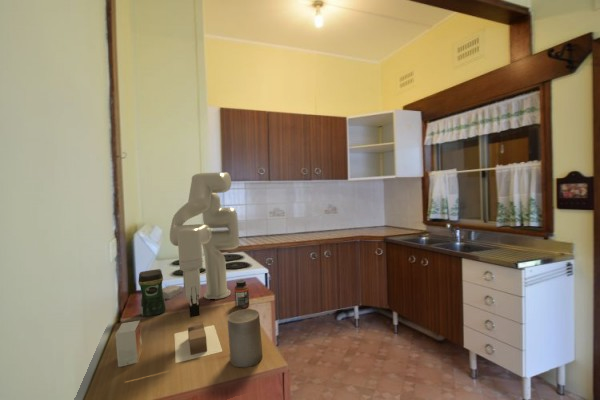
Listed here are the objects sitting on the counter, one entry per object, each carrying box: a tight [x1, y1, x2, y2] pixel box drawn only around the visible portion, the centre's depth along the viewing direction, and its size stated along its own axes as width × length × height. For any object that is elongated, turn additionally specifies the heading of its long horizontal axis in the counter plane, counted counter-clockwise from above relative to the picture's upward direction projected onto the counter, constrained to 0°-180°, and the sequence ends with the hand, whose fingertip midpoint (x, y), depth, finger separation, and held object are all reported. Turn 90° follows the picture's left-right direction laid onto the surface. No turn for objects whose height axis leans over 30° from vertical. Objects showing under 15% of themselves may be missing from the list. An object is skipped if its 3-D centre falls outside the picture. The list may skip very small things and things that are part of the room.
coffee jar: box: [137, 268, 167, 317], centre depth 135 cm, size 10×8×19 cm
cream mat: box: [174, 324, 223, 364], centre depth 108 cm, size 21×14×1 cm, turn 22°
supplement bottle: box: [234, 279, 250, 309], centre depth 138 cm, size 6×6×11 cm
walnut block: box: [187, 321, 207, 355], centre depth 106 cm, size 5×5×12 cm
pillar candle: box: [226, 308, 263, 368], centre depth 96 cm, size 10×10×15 cm
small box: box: [114, 320, 143, 368], centre depth 99 cm, size 8×6×10 cm
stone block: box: [162, 285, 183, 301], centre depth 157 cm, size 12×5×10 cm
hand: (194, 315), depth 110 cm, fingers closed
